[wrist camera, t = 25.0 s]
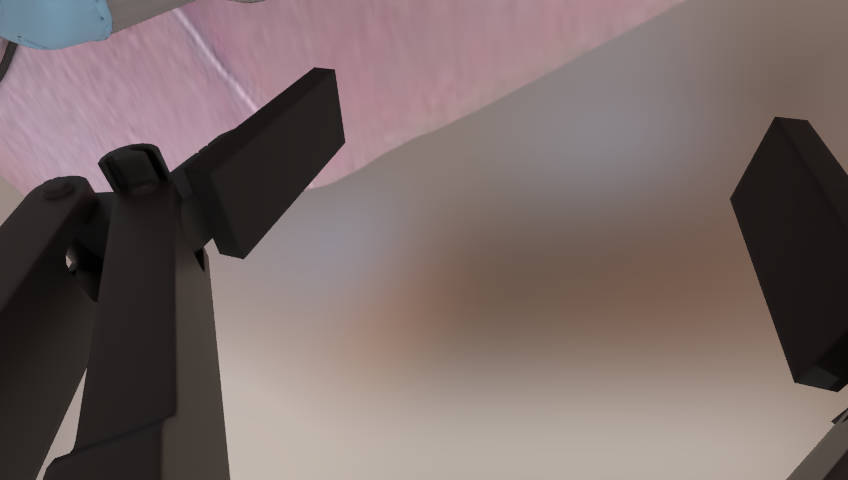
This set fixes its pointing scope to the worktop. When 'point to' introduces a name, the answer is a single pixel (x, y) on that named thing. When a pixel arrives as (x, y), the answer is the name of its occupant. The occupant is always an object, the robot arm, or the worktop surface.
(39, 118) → the worktop surface
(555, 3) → the worktop surface
